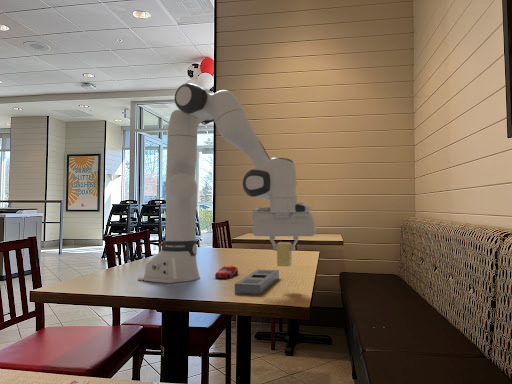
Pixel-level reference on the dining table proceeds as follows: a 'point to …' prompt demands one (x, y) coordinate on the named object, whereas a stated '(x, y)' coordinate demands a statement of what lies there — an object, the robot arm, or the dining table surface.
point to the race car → (226, 272)
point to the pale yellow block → (284, 254)
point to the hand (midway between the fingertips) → (284, 250)
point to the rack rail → (256, 282)
